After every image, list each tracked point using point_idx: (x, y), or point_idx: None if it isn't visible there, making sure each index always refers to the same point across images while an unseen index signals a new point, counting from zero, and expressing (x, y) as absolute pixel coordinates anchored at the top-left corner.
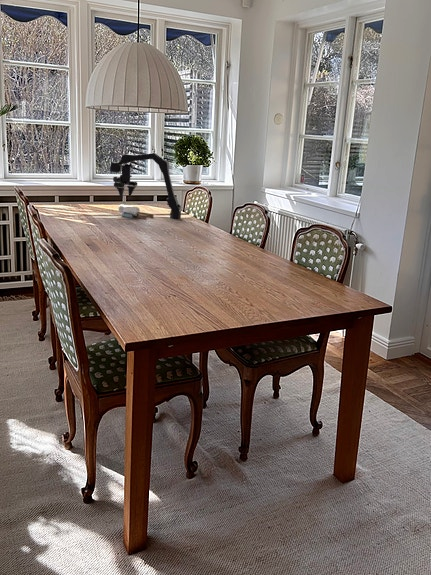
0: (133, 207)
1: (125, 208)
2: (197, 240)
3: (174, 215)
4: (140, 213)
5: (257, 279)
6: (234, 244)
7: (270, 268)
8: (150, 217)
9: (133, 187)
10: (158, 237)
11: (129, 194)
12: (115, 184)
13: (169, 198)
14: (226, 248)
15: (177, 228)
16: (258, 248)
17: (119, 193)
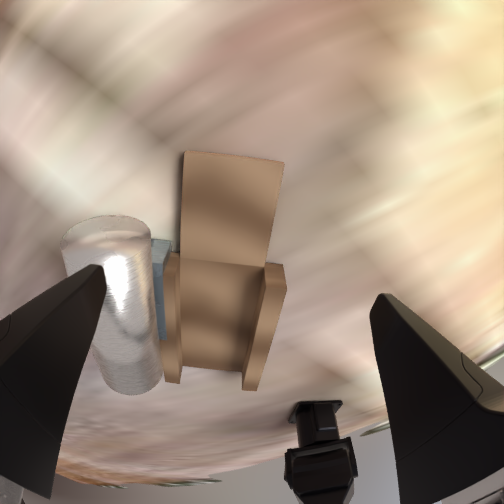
0: (105, 375)
1: None
2: (92, 452)
3: (297, 431)
4: (256, 321)
5: None
6: (129, 474)
7: (76, 471)
8: (243, 365)
9: (401, 501)
10: None
11: (387, 332)
12: None
13: (299, 499)
14: (96, 466)
15: (149, 438)
16: (140, 483)
17: (31, 309)
